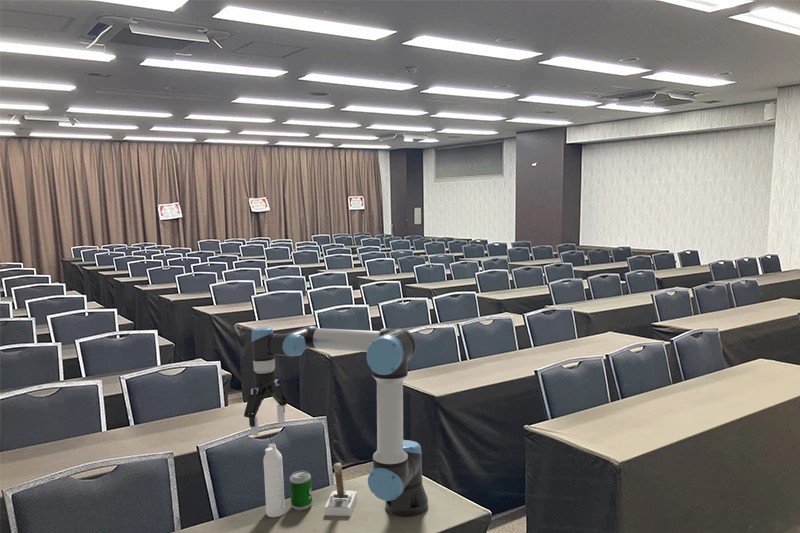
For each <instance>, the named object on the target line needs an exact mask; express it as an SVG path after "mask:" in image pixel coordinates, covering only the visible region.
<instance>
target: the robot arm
mask: <svg viewBox="0 0 800 533" xmlns="http://www.w3.org/2000/svg"><path fill="white" fill-rule="evenodd" d="M251 347H252V359H253V360H252V362H253V363H252V364H253V371H254V373H253V378H254V379H253V381H254V384H255V385H256V386H255V388H252V387H251V388H249V389H248V390H249V392H248V393H249V394H248V399H247V402H246V406H245V409H244V413H243V416H244V418H248V421H249V427H250V433H251V434H250V435H251V436H256V437H258V436H259V425H258V424H259V423H258V416H257V413H258V411H259V408H260V407H261V405H262V402H263V401H265V398H268V397H270V396H271V397H272V399H273V400H275V402H276V403H277V405H276V412H277V415H276V416H277V423H280V424H284V423H286V421H285V420H286V419H285V412H286V410H285V406H287V404H288V401H289V397H288V396H287V393H286V391H285V389H284V386H283V385H282V380H281V379H279V378H278V379H277V375H276V370H275V369H276V360H275V356H284V357H296V356H297V357H299V356H302V355H303V353H304V352H305V350H306V349H316V350H318V349H319V350H331V351H333V350H335V351H346V352H347V351H350V352H361V353H362V352H364V353H366V362H367V365H368V367H369V368H370V369H371V376H372V377H373V378H374V380H375V381H376V431H377V432H376V440H377V441H376V444H377V445H376V451H375V452H374V453H372V454H373V455H372V470H371V471H370V472H369V475H368V477H367V485H368V488H369V490H370V492H371V493H372V494H373V495H374V496H375V497H376V498H377V499H379V500H381V501H385V508H386V511H388V512H389V513H390V514H392V515H394V516H399V517H412V516H417V515H420V514H422V513H424V512H425V511H427V509H428V507H429V501H428V500H429V499H428V494H427V493H426V490H425V488H424V484H423V467H422V466H423V464H422V462H423V460H422V458H423V457H422V456H423V455H422V447H421V445H420V443H418V442H417V441H413V440H409V439H407V440H406V439H404V380H405V379H406V377H408V376H409V374H408V369H409V368H408V367H409V366H408V362H409V361H410V360H412V358H413V357H414V356H415V354H416V351H417V342H416V338H415V337H414V335H413V334H412V333H411V332H410V331H408V330H407V329H404V328H381V329H380V330H365V329H363V330H361V329H343V328H341V329H339V328H324V327H323V328H320V327H317V326H314V325H309V326H303V327H302V328H301V327H300V328H299V329H296V330H293V331H290V332H287V333H274V330H273V328H272V327H270V326H264V327H263V326H262V327H261V326H260V327H256V328H254V329H252V330H251Z"/></svg>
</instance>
